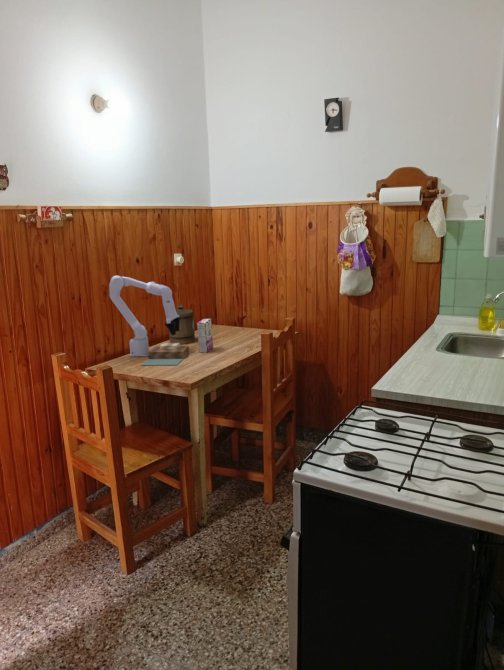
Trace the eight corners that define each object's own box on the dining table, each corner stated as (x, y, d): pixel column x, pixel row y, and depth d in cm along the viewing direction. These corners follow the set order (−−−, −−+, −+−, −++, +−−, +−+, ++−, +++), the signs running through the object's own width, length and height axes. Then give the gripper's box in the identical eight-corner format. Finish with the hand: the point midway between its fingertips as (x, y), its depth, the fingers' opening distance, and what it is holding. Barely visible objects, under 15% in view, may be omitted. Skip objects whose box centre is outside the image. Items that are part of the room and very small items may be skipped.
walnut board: (149, 359, 246) (148, 352, 245) (156, 353, 258) (155, 346, 257) (183, 359, 244) (182, 351, 243) (189, 353, 255) (188, 345, 255)
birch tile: (159, 349, 250) (159, 345, 249) (163, 346, 255) (163, 343, 255) (176, 349, 248) (176, 345, 248) (179, 346, 254) (179, 342, 254)
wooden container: (200, 340, 284) (197, 303, 280) (181, 345, 274) (178, 307, 269) (184, 337, 294) (181, 302, 290) (164, 342, 284) (161, 305, 279)
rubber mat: (141, 365, 235) (141, 365, 235) (148, 359, 246) (148, 359, 246) (177, 365, 233) (177, 364, 233) (183, 359, 243) (182, 358, 243)
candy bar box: (204, 347, 266) (202, 318, 263) (213, 347, 265) (211, 318, 262) (198, 352, 255) (196, 322, 252) (207, 353, 254) (205, 322, 251)
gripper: (173, 310, 249) (179, 335, 252) (180, 304, 263) (185, 328, 266) (160, 312, 250) (166, 337, 253) (168, 306, 264) (173, 330, 267)
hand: (175, 332), depth 260 cm, fingers open, 7 cm apart
